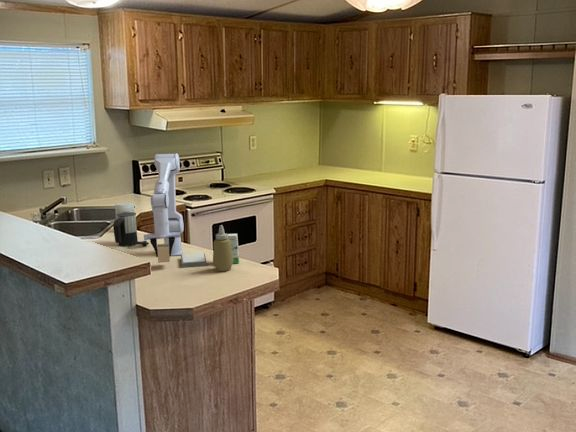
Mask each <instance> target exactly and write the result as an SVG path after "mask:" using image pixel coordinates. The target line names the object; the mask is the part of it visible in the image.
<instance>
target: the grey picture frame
mask: <svg viewBox="0 0 576 432" xmlns="http://www.w3.org/2000/svg"><path fill="white" fill-rule="evenodd" d="M180 261H181V267H182V269H183V268H194V267H206V266H208V261H207V257H206V253H204V252H197V253H185V254H184V253H183V255H180Z"/></svg>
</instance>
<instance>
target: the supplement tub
mask: <svg viewBox="0 0 576 432" xmlns="http://www.w3.org/2000/svg"><path fill="white" fill-rule="evenodd" d="M114 210H115V211H114V212H115V213H114V214H115V220H116V219H117V215H116V214H118V213H124V212H134V213H135V204H134V202H131V201H121V202H117V203H115V205H114Z"/></svg>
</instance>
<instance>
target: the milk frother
mask: <svg viewBox="0 0 576 432" xmlns="http://www.w3.org/2000/svg"><path fill="white" fill-rule="evenodd" d="M116 215H117V219H116V218H115V220H114V221H113V225H112V227H113V235H114V242H115V243H116V244H118V246H120V247H132V246H136V245H137V246H143V247H147V245H149V244H150V242H147V240H141V241H139V240H138V232H137V231H138V230H137V217H136V216H137V213H136V212H135V211H134V212H124V213H118V214H115V216H116Z"/></svg>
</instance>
